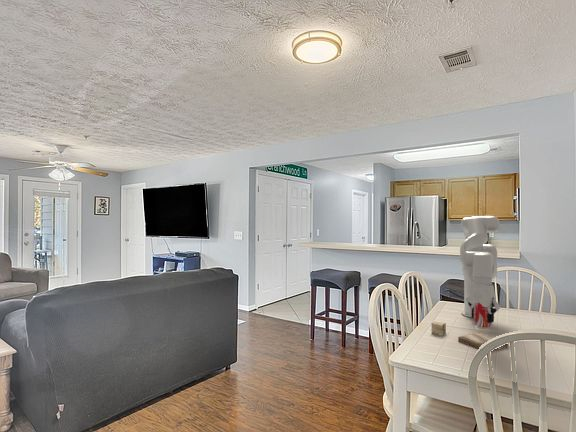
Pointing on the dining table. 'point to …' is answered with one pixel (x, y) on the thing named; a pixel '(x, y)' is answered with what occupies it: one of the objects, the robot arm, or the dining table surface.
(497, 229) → the robot arm
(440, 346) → the dining table surface
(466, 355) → the dining table surface
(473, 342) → the walnut tray
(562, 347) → the dining table surface
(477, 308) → the soda can
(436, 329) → the oak block
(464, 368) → the dining table surface
